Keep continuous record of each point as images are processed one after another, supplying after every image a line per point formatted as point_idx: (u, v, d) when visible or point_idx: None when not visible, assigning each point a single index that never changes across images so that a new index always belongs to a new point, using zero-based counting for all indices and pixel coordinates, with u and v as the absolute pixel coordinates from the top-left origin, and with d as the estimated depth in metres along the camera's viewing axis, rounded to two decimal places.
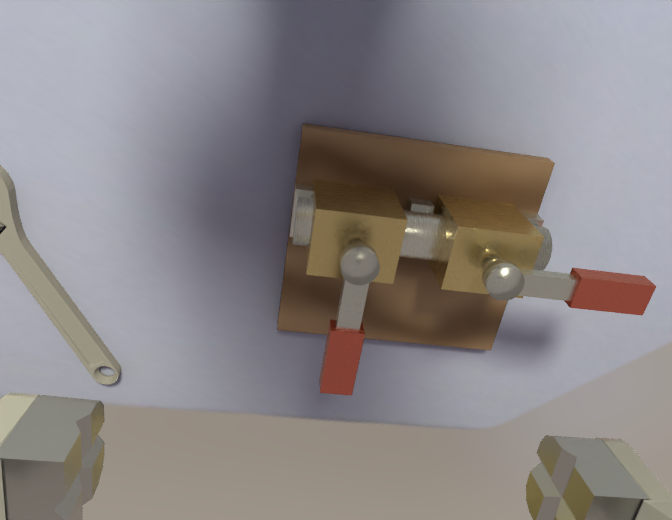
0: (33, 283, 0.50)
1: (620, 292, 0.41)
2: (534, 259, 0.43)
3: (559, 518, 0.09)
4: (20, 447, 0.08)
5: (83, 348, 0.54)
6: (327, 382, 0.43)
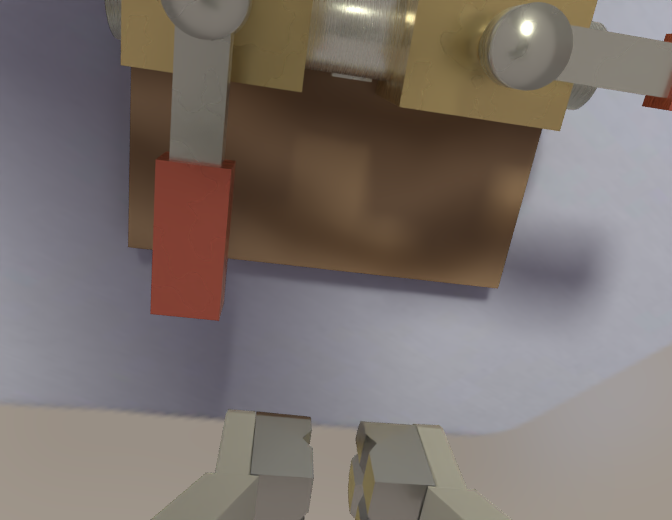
0: None
1: None
2: None
3: (360, 506, 0.09)
4: (269, 463, 0.08)
5: None
6: (163, 289, 0.21)
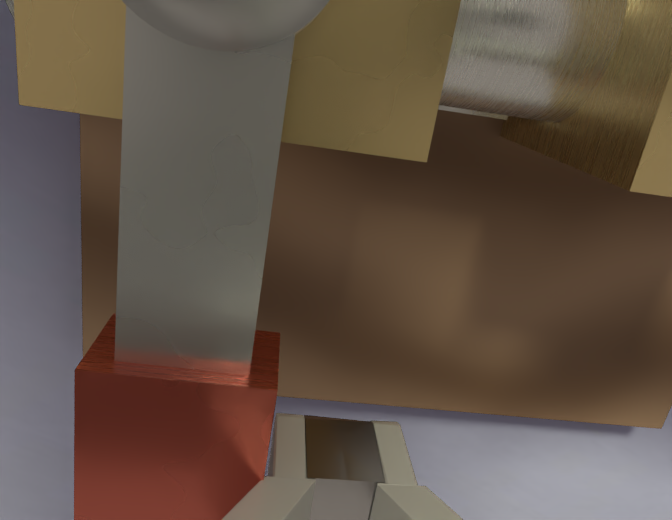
0: None
1: None
2: None
3: None
4: (324, 467, 0.08)
5: None
6: None
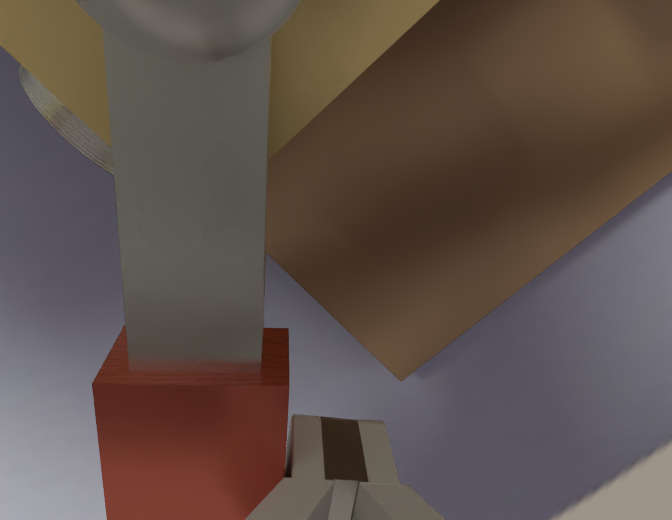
0: None
1: None
2: None
3: None
4: (342, 468, 0.08)
5: None
6: None
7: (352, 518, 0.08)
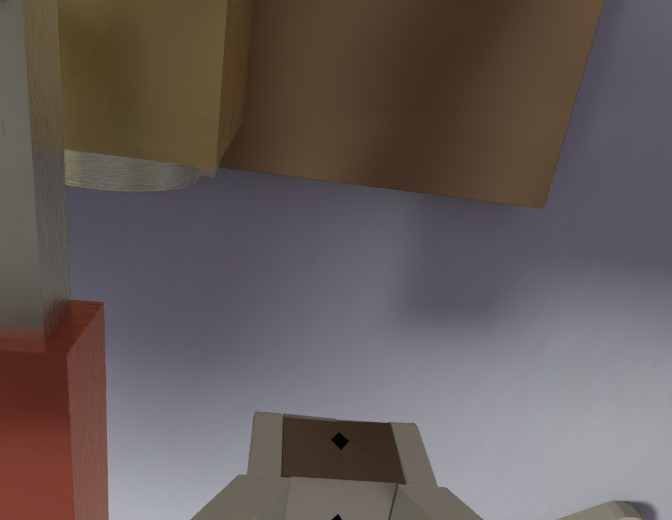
0: None
1: None
2: None
3: None
4: (299, 464, 0.08)
5: None
6: None
7: None
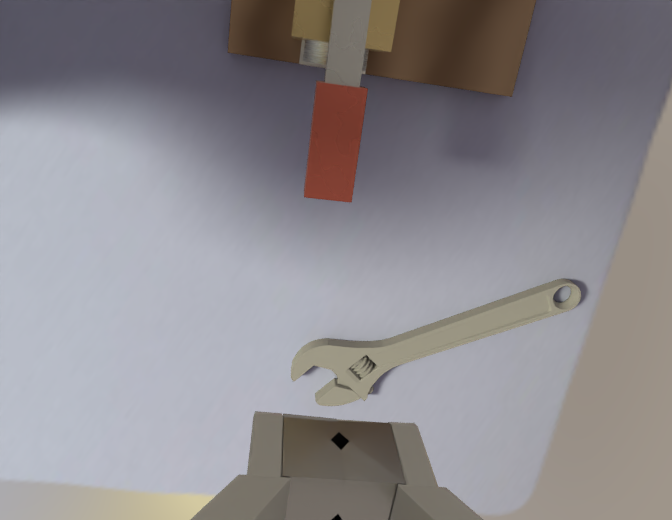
0: (433, 345, 0.46)
1: None
2: None
3: None
4: (299, 465, 0.08)
5: (525, 313, 0.46)
6: (314, 178, 0.29)
7: None
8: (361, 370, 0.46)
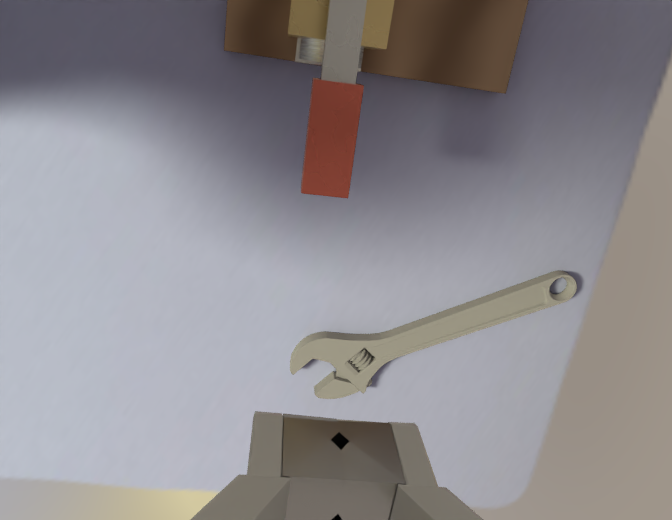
0: (431, 337, 0.47)
1: None
2: None
3: None
4: (299, 465, 0.08)
5: (522, 304, 0.46)
6: (311, 174, 0.30)
7: None
8: (360, 363, 0.47)
